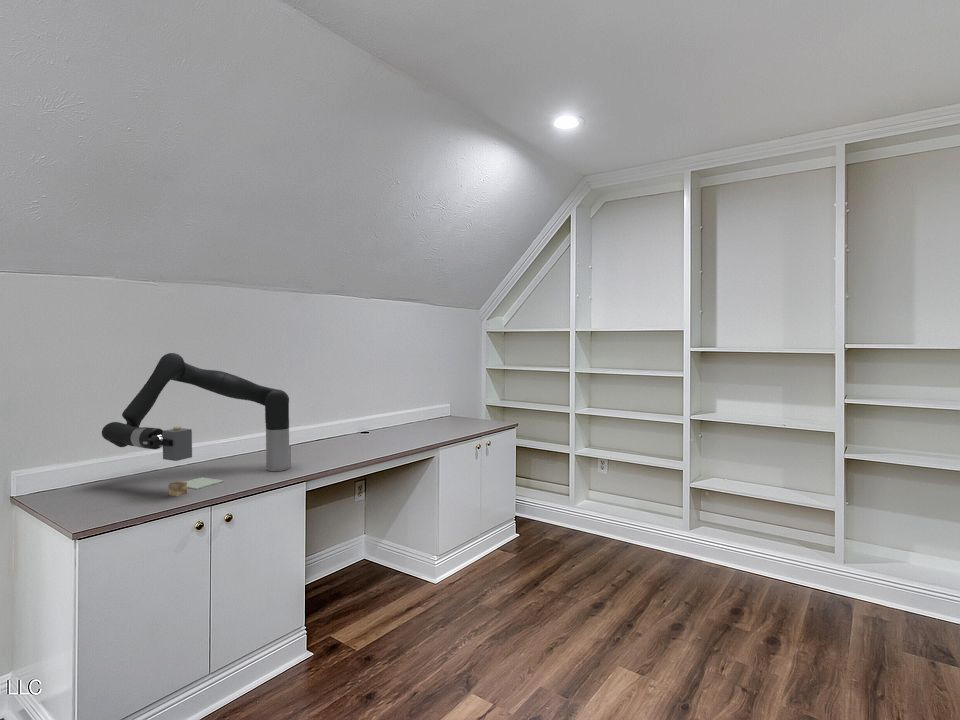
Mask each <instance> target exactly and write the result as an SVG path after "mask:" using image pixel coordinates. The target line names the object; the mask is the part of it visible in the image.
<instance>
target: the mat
mask: <svg viewBox="0 0 960 720" xmlns="http://www.w3.org/2000/svg"><path fill="white" fill-rule="evenodd" d="M185 482H187V489H192V490H200V489H203V488H207V487H210V486H214V485H217V484H221V483H224V482H225V480H222V479H215V478H210V477H198V478H193V479H190V480H187V481H185Z"/></svg>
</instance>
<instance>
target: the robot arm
mask: <svg viewBox="0 0 960 720" xmlns="http://www.w3.org/2000/svg"><path fill="white" fill-rule="evenodd" d="M170 381H175V382H178V383H179V382H180V383H183V384H188V385H192V386H194V387H199V388H201V389H204V390H206V391H209V392H212V393H214V394H217V395H221V396H222V397H227V398H231V399H236V400H242V401H250V402H254V403H257V404H259V405H262V406H264V411H265V413H264V416H265V418H264V420H265V421H264V423H265V470H266V471H268V472H280V471H287V470H288V469H290V468H292V448H291V447H292V446H291V444H290V413H289V412H290V411H289V410H290V398H289V394H288V393H287V392H285V391H284V390H282V389H278V388H272V387H267V386H265V385H264V386H263V385H259V384H257V383H255V382H253V381H250V380H248V379H246V378H242V377H240V376H237V375H235V374H231V373H228V372H225V371H222V370H215V369H203V368H201V367H196V366H194V365H192V364H190V363H187V362H185V360H184V358H183V357H182V355H180V354H178V353H175V352H170V353H166V354H163V356H162V357H161V358H159V360H158V362H157V364H156V366H155V368H154V370H153V372H152V374H151V375H150V376H149V378H148V380H147V381H146V382H145V384H144V385H143V386H142V388H141V389H140V390H139V392H138V393H137V394H136V396H134V398H133V399H132V400H131V401H130V403H129V404H128V405H127V406H126V407H125V409H124V410H123V411H122V414H121V417H122V418H123V419H124V420H125V422H126V423H123V422H121V421H112V422H109V423H107V424H105V425H104V426H103V427H102V430H101V437H102V438H103V439H105V440H106V441H108V442H109V443H111V444H113V445H115V446H116V447H119V448H125V447H128V446H130V447H135V448H136V447H137V448H141V449H148V450H159V449H161V448H163V446H169V447H171V446H173V440H167V439H163V435H162V431H163V429H162V428H159V427H157V428H156V427H149V426H144V427H141V426H140V425H141V422H142V421H143V420H144V418H145V417H146V416H147V415H148V414H149V412H150V411H151V410H152V408H153V406H154V405H155V403H156V401H157V400H158V398H159V396H160V394H161V393H162V391H163V390H164V388H165V387H166V385H167V384H168V383H169V382H170Z"/></svg>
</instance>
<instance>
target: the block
mask: <svg viewBox="0 0 960 720" xmlns="http://www.w3.org/2000/svg"><path fill="white" fill-rule="evenodd" d="M186 494H188V488H187V482H186V481H180V480H178V481H174V482H171V483H168V496H173V497H179V496H183V495H186Z"/></svg>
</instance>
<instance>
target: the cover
mask: <svg viewBox="0 0 960 720" xmlns="http://www.w3.org/2000/svg"><path fill="white" fill-rule="evenodd" d="M162 430H163V429H162ZM162 435H163V439H167V440H173V446H171V447H169V446H163V447H162V460H167V461H174V462H177V461H181V460H186V459H191V458H193V431H192V428H183V427H182V426H173V428H170V429H165V430H163V431H162Z"/></svg>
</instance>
